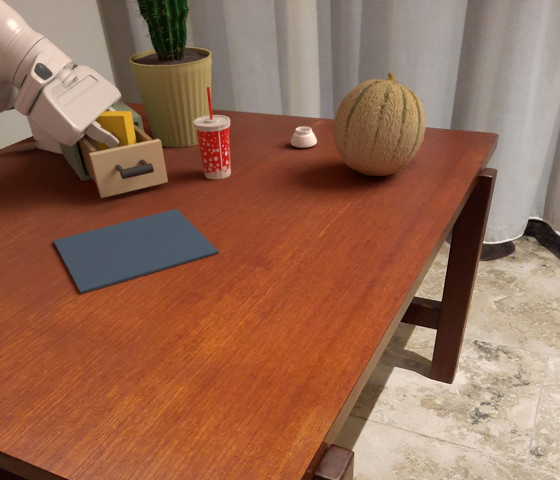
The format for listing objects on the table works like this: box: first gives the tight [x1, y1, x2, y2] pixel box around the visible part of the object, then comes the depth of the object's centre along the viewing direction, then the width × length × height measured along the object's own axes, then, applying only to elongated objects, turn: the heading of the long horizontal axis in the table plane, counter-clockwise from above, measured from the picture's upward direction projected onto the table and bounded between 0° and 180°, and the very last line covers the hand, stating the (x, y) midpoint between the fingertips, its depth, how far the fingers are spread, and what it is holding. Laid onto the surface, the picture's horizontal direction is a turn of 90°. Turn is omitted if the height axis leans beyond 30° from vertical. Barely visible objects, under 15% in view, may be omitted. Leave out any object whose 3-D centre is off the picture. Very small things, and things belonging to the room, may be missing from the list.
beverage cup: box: [193, 87, 232, 180], centre depth 93 cm, size 6×6×14 cm
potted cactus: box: [128, 0, 213, 148], centre depth 103 cm, size 15×15×30 cm
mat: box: [53, 208, 220, 295], centre depth 78 cm, size 19×16×1 cm
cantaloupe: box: [333, 72, 426, 177], centre depth 90 cm, size 15×15×15 cm
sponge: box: [95, 111, 137, 151], centre depth 92 cm, size 4×5×9 cm
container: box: [26, 114, 63, 155], centre depth 107 cm, size 8×8×13 cm
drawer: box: [77, 123, 169, 199], centre depth 92 cm, size 18×11×7 cm, turn 29°
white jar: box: [289, 126, 318, 149], centre depth 106 cm, size 5×3×5 cm
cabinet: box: [60, 99, 145, 182], centre depth 101 cm, size 15×13×9 cm
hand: (123, 140), depth 91 cm, fingers closed on sponge, 4 cm apart
